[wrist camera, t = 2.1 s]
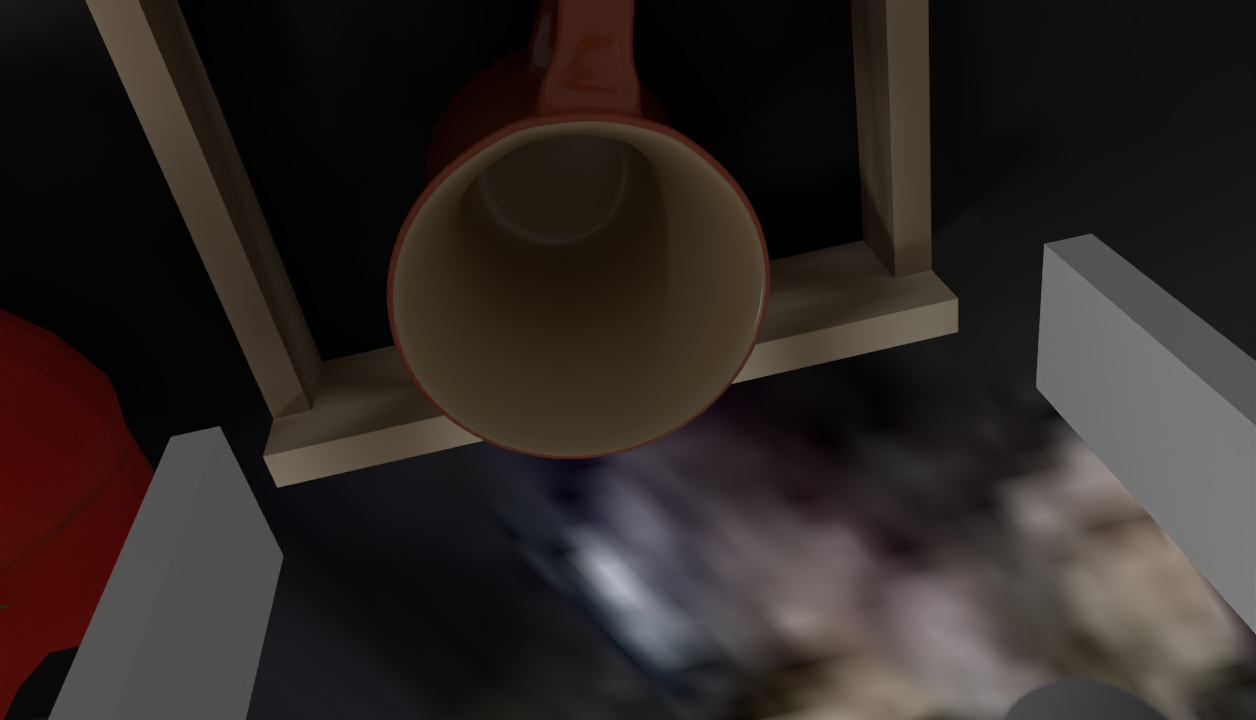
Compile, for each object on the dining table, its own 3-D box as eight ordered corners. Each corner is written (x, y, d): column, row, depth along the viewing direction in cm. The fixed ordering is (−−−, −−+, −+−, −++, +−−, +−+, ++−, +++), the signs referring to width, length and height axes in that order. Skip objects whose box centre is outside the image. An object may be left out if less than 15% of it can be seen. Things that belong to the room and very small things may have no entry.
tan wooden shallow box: (299, 398, 35) (277, 487, 30) (80, -116, 26) (6, -92, 22) (897, 262, 35) (958, 331, 31) (880, -282, 27) (960, -290, 22)
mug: (670, 281, 34) (741, 458, 26) (409, 276, 33) (392, 463, 24) (716, -101, 28) (831, -38, 20) (400, -127, 27) (371, -72, 18)
